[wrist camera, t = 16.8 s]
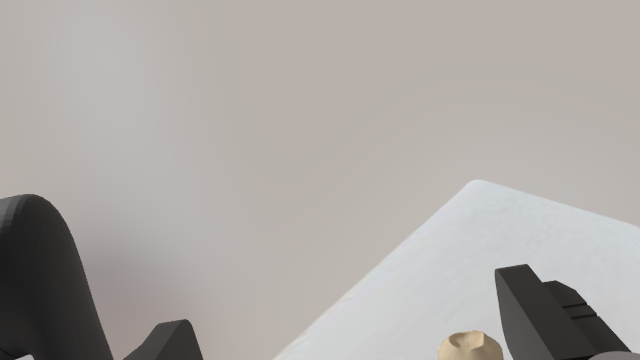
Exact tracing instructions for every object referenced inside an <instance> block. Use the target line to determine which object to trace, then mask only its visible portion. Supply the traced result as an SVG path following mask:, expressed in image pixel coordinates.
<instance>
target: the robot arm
mask: <svg viewBox="0 0 640 360" xmlns="http://www.w3.org/2000/svg"><path fill="white" fill-rule="evenodd" d="M495 282H496V289H497V295H498V302H499V309H500V315H501V322H502V328H503V332H504V336H505V340H506V343H507V346H508V349H509V351H510V353H511V355H512V357H513V359H514V360H640V354H638V353H632V352H631V351H630V350H629V349H628V347H627V346H626V345H625V344H624V343H623V342H622V341H621V340H620V339H619V338H618V336H617V335H616V334H615V333H614V332H613V331H612V330H611V329H610V328H609V327H608V326H607V324H606V323H605V322H604V321H603V320H602V319H601V318H600V317H599V316H597V313H596V312H595V311H594V310H593V309H592V308H591V307H590V306H589V305H587V302H586V301H585V300H584V299H583V298H582V297H581V296H580V295H579V294H578V293H577V291H576V290H574V289H572V288H570V287H568V286H566V285H564V284H562V283H560V282H558V281H556V280H555V281H549V282H543V283H542V282H541V280H540V279H539V278H538V277H537V275H536V274H535V273H534V272H533V270H532V269H531V268H530V267H529V265H527V264H523V265H517V266H511V267H505V268H499V269H495ZM29 354H31V355H32V356H33V358H34V360H113V356H112V354H111V351H110V348H109V345H108V342H107V340H106V337H105V334H104V332H103V329H102V326H101V323H100V320H99V317H98V314H97V311H96V308H95V305H94V302H93V299H92V295H91V292H90V289H89V285H88V282H87V279H86V275H85V272H84V269H83V265H82V262H81V259H80V256H79V253H78V250H77V248H76V245H75V242H74V239H73V237H72V235H71V233H70V230H69V228H68V226H67V224H66V222H65V221H64V219H63V218H62V216H61V214H60V213H59V212H58V210H57V209H56V208H55V207H54V206H53V205H52V204H51V203H50V202H49V201H47V200H46V199H44V198H43V197H40V196H38V195H34V194H24V195H17V196H13V197H8V198H4V199H0V360H15V359H18V358H21V357H23V356H26V355H29ZM123 360H203V357H202V354H201V351H200V348H199V345H198V342H197V339H196V336H195V333H194V330H193V327H192V325H191V323H190V322H189V321H188V320H186V319H184V320H178V321H171V322H165V323H160V324H158V325H157V326H156V327H155V328H154V329H153V331H152V332H151V333H150V335H149V336H148V337H147V338H146V340H145V341H144V342H143V344H142V345H141V346H139V347H138V348H137V349H135V350H134V351H133V352H132V353H130V354H129V355H128V356H127V357H126V358H124V359H123Z"/></svg>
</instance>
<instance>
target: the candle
mask: <svg viewBox="0 0 640 360" xmlns="http://www.w3.org/2000/svg"><path fill="white" fill-rule="evenodd" d="M438 359H439V360H504V359H503V353H502V348H501V346H500V345H499V343H498V342H496V341H495V340H494V339H492V338H491V337H489V336H487V335H486V334H485V333H484V332H481V331H475V330H474V331H468V332H460V333H455V334H452V335H451V336H450V337H448V338H447V339H446V340H445V341H444V342H443V343H442V344H441V345H440V347H439V349H438Z"/></svg>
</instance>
